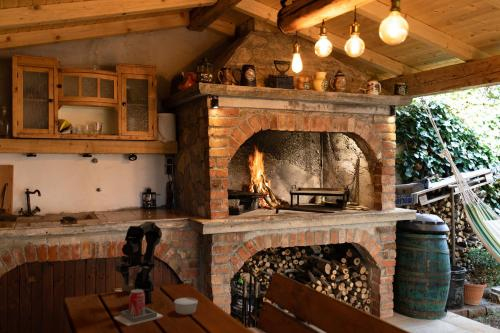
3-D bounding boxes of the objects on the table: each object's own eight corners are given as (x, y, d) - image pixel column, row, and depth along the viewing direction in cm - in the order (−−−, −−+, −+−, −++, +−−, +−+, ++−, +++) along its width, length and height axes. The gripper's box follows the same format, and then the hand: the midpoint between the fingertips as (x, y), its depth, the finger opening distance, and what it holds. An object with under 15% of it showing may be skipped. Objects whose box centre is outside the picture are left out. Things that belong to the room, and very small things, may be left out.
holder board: (148, 310, 222) (148, 304, 222) (163, 317, 213) (163, 311, 213) (113, 318, 210) (114, 312, 210) (127, 326, 201) (128, 320, 201)
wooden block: (138, 293, 250) (138, 260, 250) (121, 291, 254) (122, 258, 254) (141, 291, 254) (142, 259, 254) (125, 289, 258) (126, 257, 257)
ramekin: (201, 310, 225) (201, 299, 225) (189, 317, 215) (189, 305, 215) (182, 306, 229) (182, 296, 229) (169, 313, 219) (169, 302, 219)
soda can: (130, 314, 214) (130, 288, 214) (145, 314, 215) (146, 288, 215) (127, 319, 207) (128, 292, 207) (143, 319, 208) (143, 292, 208)
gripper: (144, 247, 234) (143, 277, 234) (110, 251, 221) (109, 283, 221) (156, 250, 226) (155, 281, 226) (121, 255, 213) (120, 288, 213)
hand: (135, 283), depth 222 cm, fingers open, 9 cm apart
